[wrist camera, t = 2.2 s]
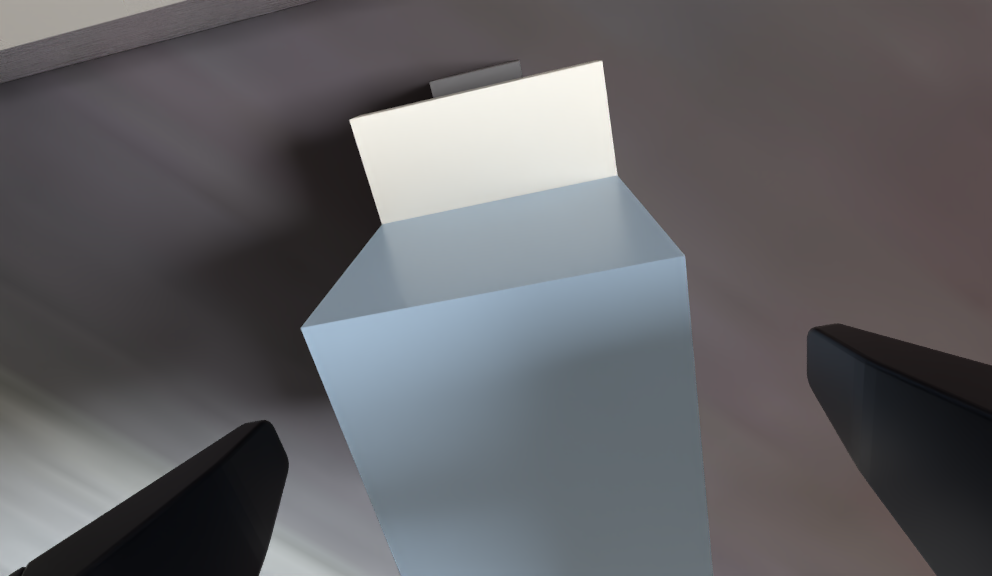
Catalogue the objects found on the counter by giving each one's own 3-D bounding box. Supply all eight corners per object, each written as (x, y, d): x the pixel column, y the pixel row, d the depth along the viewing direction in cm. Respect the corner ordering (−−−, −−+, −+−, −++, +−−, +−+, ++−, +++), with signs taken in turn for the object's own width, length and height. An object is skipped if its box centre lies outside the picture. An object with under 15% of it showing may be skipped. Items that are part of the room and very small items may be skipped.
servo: (490, 441, 16) (471, 748, 9) (393, 89, 12) (222, 138, 5) (630, 419, 15) (726, 726, 8) (574, 46, 11) (665, 34, 4)
